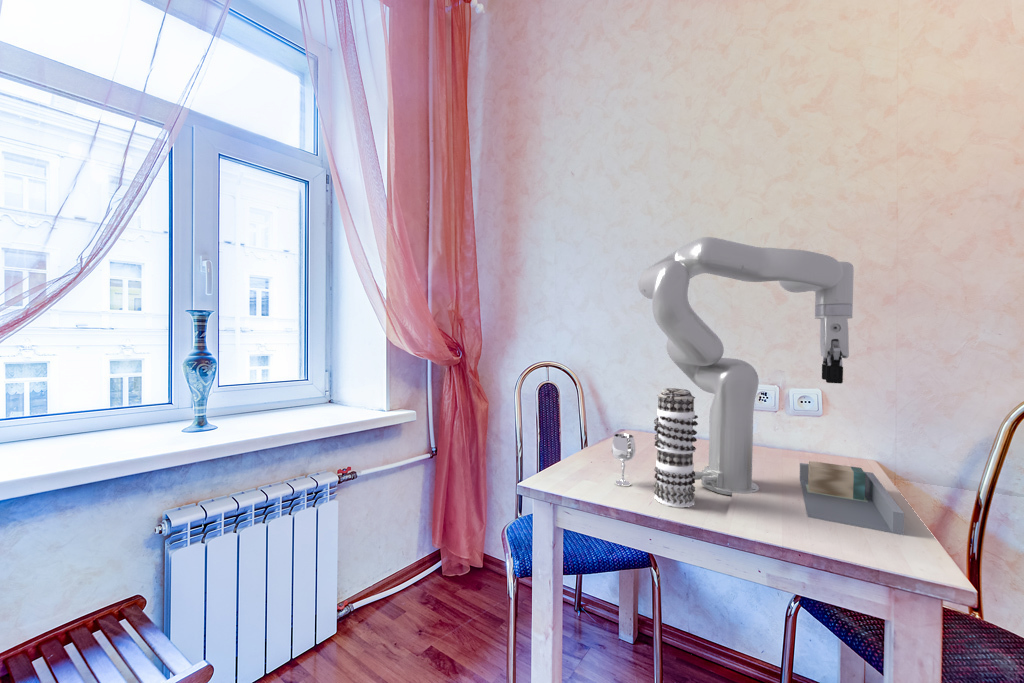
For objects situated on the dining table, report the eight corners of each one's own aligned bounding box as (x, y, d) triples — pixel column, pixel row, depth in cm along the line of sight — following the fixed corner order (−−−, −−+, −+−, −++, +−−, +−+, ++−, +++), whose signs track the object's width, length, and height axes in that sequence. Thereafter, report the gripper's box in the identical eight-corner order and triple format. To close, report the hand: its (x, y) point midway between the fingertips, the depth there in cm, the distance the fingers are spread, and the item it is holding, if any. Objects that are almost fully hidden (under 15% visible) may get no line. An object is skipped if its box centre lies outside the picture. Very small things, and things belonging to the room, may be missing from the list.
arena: (903, 540, 79) (904, 513, 79) (807, 521, 86) (808, 497, 86) (872, 493, 103) (872, 472, 103) (799, 482, 110) (799, 462, 110)
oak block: (809, 491, 101) (810, 466, 101) (808, 485, 105) (808, 460, 105) (864, 500, 95) (865, 473, 95) (860, 493, 100) (861, 467, 100)
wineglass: (609, 485, 106) (610, 437, 106) (612, 478, 111) (613, 432, 111) (633, 489, 104) (634, 439, 104) (636, 481, 109) (636, 434, 109)
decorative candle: (705, 507, 93) (707, 391, 93) (667, 510, 91) (669, 392, 91) (680, 492, 102) (682, 386, 102) (645, 494, 100) (646, 387, 100)
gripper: (858, 310, 98) (856, 385, 98) (846, 314, 113) (845, 379, 113) (818, 310, 102) (816, 383, 102) (812, 314, 116) (810, 377, 117)
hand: (831, 381), depth 107 cm, fingers open, 9 cm apart
